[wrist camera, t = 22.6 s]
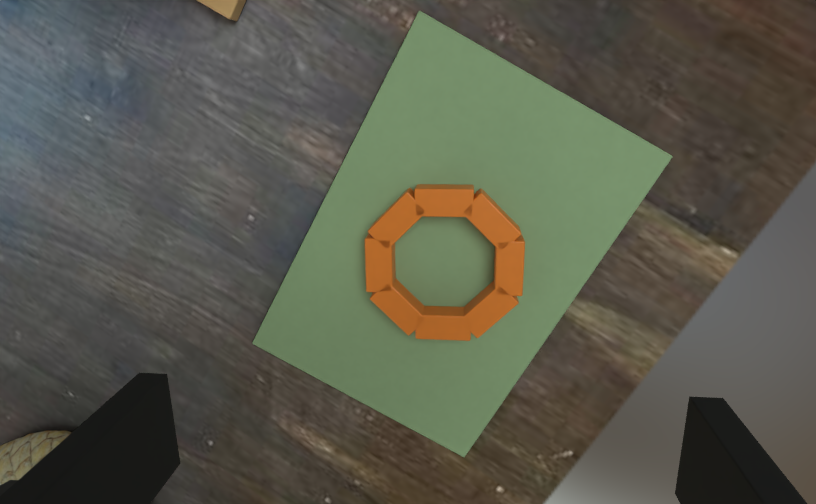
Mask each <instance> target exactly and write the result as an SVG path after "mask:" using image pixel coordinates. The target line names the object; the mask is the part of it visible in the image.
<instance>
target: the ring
mask: <svg viewBox="0 0 816 504" xmlns="http://www.w3.org/2000/svg"><path fill="white" fill-rule="evenodd" d="M421 217H466V218H467V219H468V220H469V221H470V222H471V223H472V224H473V225H474V226H475V227H476V228H477V229H478V230H479V231H480V232H481V233H482V234H483V235H484V236H485V237H486V238H487V239H488V240H489V241H490V242H491V243H492V244H493V245H494V246H495V259H494V281H493V282H491V283H490V284H489V285H488V286H487V287H486V288H485V289H484V290H482V291H481V292H480V293H479V294H478V295H477V296H476V297H475V298H473V299H472V300H471V301H470V302H469V303H468V304H467V305H466V306H464V307H451V306H424V305H423V304H422V303H421V302H420V301H419V300H418V299H417V298H416V297H415V296H414V295H413V294H412V293H411V292H409V291H408V290H407V289H406V288H405V287H404V286H403V285H402V284H401V283H400V282H399V281H398V280H397V279H396V264H395V242H396V241H397V240H398V239H399V238H400V237H402V236H403V235H404V234H405V233H406V232H407V231H408V230H409V229H410V228H411V227H412V226H413V225H414V224H415V223H416V222H417V221H418V220H419V219H420V218H421ZM521 234H522V233H521V230H520V228H519V226H518V225H517V224H516V223H515V222H514V221H513V220H512V219H511V218H510V217H509V216H508V215H507V214H506V213H505V212H504V211H503V210H502V209H501V208H500V207H499V206H498V205H497V203H496V202H495V201H494V200H493V199H492V198H491V197H490V196H489V195H488V194H487V193H486V192H485V191H484V190H483V189H479V190H478V191H477V192H476V193H475V194H474V185H456V184H417V186H416V188H415V190H414V191H413V190H412V189H411V188H408V189H407V190H406V191H405V192H404V193H403V194H402V195H401V196H400V197H399V198H398V199H397V200H396V201H395V202H394V203H393V204H392V205H391V206H390V207H389V208H388V209H387V210H386V211H385V212H384V213H383V214H382V215H381V216H380V217H379V218H378V219H377V220H376V221H375V222H374V223H373V224H372V225H371V227H370V228H369V230H368V235H367V236H366V238H365V271H366V291H367V292H373V293H372V295H371V297H370V300H371V301H372V302H373V303H374V304H375V305H376V306H378V307H379V308H380V309H381V310H382V311H383V312H384V313H385V314H386V315H387V316H388V317H389V318H390V319H391V320H392V321H393V322H394V323H395V324H396V325H398V326H399V327H400V328H401V329H402V330H403V331H404V332H405V333H406V334H407V335H408V336H409V335H410V334H412V333H413V332H414V331H415V338H416V339H434V340H462V341H470V340H471V333H472V334H473V335H474V336H475V337H476V338H479V337H480V336H481V335H482V334H484V333H485V332H486V331H487V330H488V329H489V328H491V327H492V326H493V325H494V324H495V323H496V322H498V321H499V320H500V319H501V318H502V317H503V316H505V315H506V314H507V313H508V312H509V311H510V310H512V309H513V308H514V307H515V306H516V305H517V304H518V303H519V301H518V297H517V296H522V295H523V276H524V256H525V241H524V238H523V235H521Z"/></svg>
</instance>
